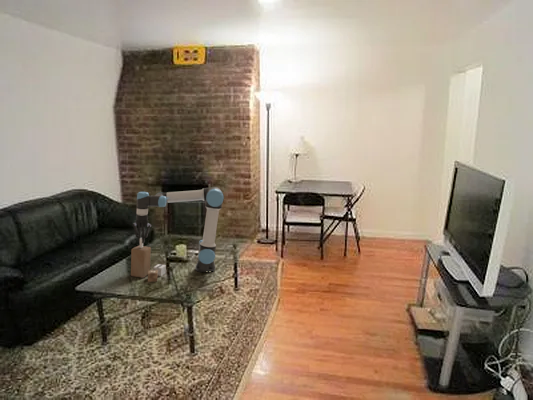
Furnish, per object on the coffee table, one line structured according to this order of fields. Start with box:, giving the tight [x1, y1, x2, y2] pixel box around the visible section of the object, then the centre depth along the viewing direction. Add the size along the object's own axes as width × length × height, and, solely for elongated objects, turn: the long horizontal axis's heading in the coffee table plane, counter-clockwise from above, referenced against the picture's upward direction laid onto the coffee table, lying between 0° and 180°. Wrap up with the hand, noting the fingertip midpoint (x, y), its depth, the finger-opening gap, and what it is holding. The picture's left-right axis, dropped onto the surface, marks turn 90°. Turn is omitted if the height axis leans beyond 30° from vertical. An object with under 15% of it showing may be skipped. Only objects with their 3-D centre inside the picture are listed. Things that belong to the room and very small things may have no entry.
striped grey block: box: [153, 263, 167, 277], centre depth 267 cm, size 6×7×6 cm
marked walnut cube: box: [147, 269, 159, 283], centre depth 255 cm, size 6×6×6 cm
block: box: [130, 245, 152, 279], centre depth 261 cm, size 10×10×20 cm
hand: (141, 247), depth 259 cm, fingers closed
